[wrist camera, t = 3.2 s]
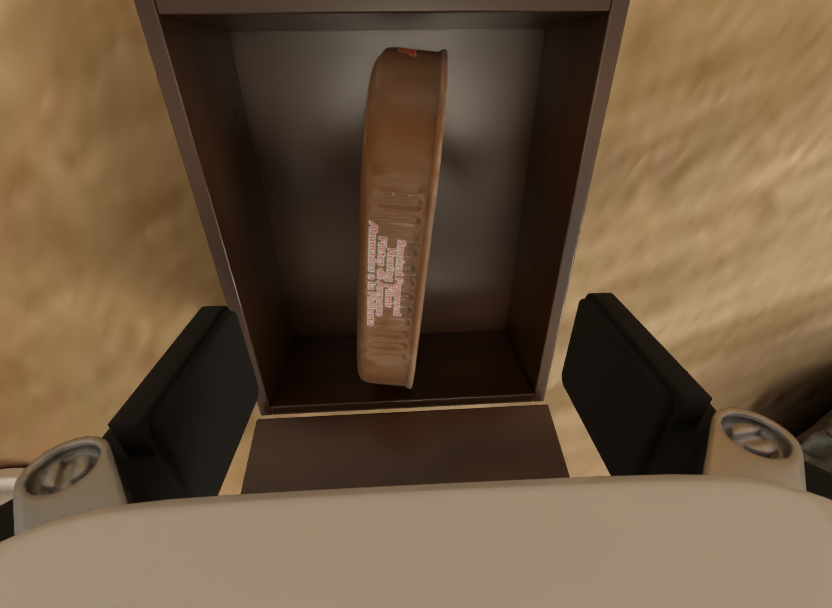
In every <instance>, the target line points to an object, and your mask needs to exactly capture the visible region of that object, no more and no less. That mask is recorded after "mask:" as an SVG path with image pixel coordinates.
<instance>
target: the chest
mask: <svg viewBox="0 0 832 608" xmlns="http://www.w3.org/2000/svg"><path fill="white" fill-rule="evenodd" d="M629 2H630V0H134V3H135V6H136V9H137V12H138V16H139V19H140V22H141V25H142V29H143V32H144V35H145V38H146V42H147V45H148V48H149V52H150V55H151V58H152V61H153V65H154V68H155V71H156V74H157V78H158V81H159V84H160V87H161V91H162V94H163V97H164V100H165V104H166V107H167V110H168V113H169V117H170V120H171V123H172V126H173V130H174V133H175V136H176V140H177V143H178V146H179V149H180V153H181V156H182V159H183V162H184V166H185V169H186V172H187V175H188V179H189V182H190V185H191V188H192V192H193V195H194V198H195V201H196V205H197V208H198V211H199V214H200V218H201V221H202V224H203V227H204V231H205V234H206V237H207V241H208V244H209V247H210V250H211V254H212V257H213V260H214V263H215V267H216V270H217V273H218V276H219V280H220V283H221V286H222V289H223V293H224V296H225V299H226V302H227V306H228V308H229V309H230V311H235V312H236V314H237V316H238V319H239V323H240V326H241V329H242V333H243V336H244V339H245V343H246V346H247V349H248V353H249V356H250V359H251V363H252V366H253V369H254V373H255V376H256V379H257V382H258V387H259V394H258V399H257V403H258V407H259V410H260V413H261V415H272V414H273V415H278V414H298V413H317V412H337V411H357V410H376V409H396V408H416V407H435V406H455V405H475V404H495V403H514V402H532V401H534V402H535V401H544V396H545V392H546V387H547V383H548V378H549V373H550V369H551V364H552V359H553V355H554V350H555V345H556V341H557V336H558V332H559V327H560V322H561V318H562V313H563V308H564V304H565V299H566V294H567V290H568V285H569V280H570V276H571V271H572V267H573V262H574V257H575V253H576V248H577V243H578V239H579V234H580V229H581V225H582V220H583V215H584V211H585V206H586V202H587V197H588V192H589V188H590V183H591V178H592V174H593V169H594V164H595V160H596V155H597V150H598V146H599V141H600V137H601V132H602V127H603V123H604V118H605V113H606V109H607V104H608V99H609V95H610V90H611V86H612V81H613V76H614V72H615V67H616V62H617V58H618V53H619V48H620V44H621V39H622V34H623V30H624V25H625V21H626V16H627V11H628V7H629ZM388 47H401V48H409V49H416V50H426V51H437V52H439V51H440V50H442V49H446V50H447V51H448V83H447V97H446V110H445V120H444V135H443V142H442V154H441V163H440V174H439V182H438V190H437V198H436V206H435V214H434V221H433V228H432V237H431V246H430V253H429V261H428V269H427V278H426V285H425V294H424V302H423V311H422V319H421V326H420V335H419V343H418V351H417V359H416V365H415V367H416V368H415V374H414V380H413V384H412V388H411V389H409V388H407V387H405V386H398V385H386V384H375V383H369V382H365V381H363V380H362V379H361V378H360V376H359V374H358V366H357V284H358V246H359V207H360V177H361V158H362V142H363V129H364V117H365V109H366V101H367V94H368V87H369V80H370V76H371V72H372V68H373V66H374V63H375V61H376V60H377V58H378V57H379V56H380V55H381V53H382V52H383V51H384V50H385V49H386V48H388Z"/></svg>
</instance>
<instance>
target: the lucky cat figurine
mask: <svg viewBox="0 0 832 608" xmlns="http://www.w3.org/2000/svg"><path fill="white" fill-rule="evenodd" d="M795 439H796V440H797V441H798V443H799V444H800V446H801V449H802V451H803V457H804V461H806V462H808V463H810V464H812V465H815V466H817V467H819V468H821V469H824V470H826V471H828V472H831V473H832V410H830V411H829V412H828V413H827V414H826V415H825V416H823V417H822V418H821V419H820V420H819V421H818V422H816V423H815V424H814V425H813V426H811V427H810V428H808V429H807V430H805V431H804V432H802V433H801V434H799V435H798V436H796V437H795Z"/></svg>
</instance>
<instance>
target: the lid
mask: <svg viewBox="0 0 832 608" xmlns="http://www.w3.org/2000/svg"><path fill="white" fill-rule="evenodd" d="M551 478H570V476H569V473H568V470H567V466H566V463H565V460H564V456H563V453H562V450H561V447H560V443H559V440H558V437H557V433H556V430H555V427H554V423H553V420H552V417H551V413H550V410H549V407H548V405H529V406H509V407H490V408H470V409H451V410H431V411H411V412H392V413H372V414H353V415H333V416H314V417H294V418H275V419H258V420H257V422H256V426H255V431H254V435H253V440H252V445H251V449H250V454H249V458H248V463H247V467H246V472H245V476H244V481H243V485H242V490H241V494H254V493H272V492H290V491H308V490H326V489H344V488H363V487H383V486H403V485H422V484H443V483H463V482H484V481H506V480H528V479H551Z"/></svg>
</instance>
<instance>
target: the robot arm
mask: <svg viewBox="0 0 832 608" xmlns="http://www.w3.org/2000/svg"><path fill="white" fill-rule="evenodd" d="M562 382H563V385H564V387H565V389H566V391H567V393H568V395H569V397H570V399H571V401H572V403H573V405H574V406H575V408H576V410H577V412H578V414H579V416H580V418H581V420H582V422H583V424H584V425H585V427H586V429H587V431H588V433H589V435H590V437H591V439H592V441H593V443H594V444H595V446H596V448H597V450H598V452H599V454H600V456H601V458H602V460H603V462H604V463H605V465H606V467H607V469H608V471H609V473H610V475H611V476H596V477H574V478H551V479H528V480H506V481H484V482H463V483H443V484H422V485H403V486H383V487H363V488H344V489H326V490H308V491H290V492H272V493H254V494H237V495H223V496H218V494H219V491H220V489H221V486H222V484H223V481H224V479H225V477H226V474H227V472H228V469H229V467H230V464H231V462H232V460H233V457H234V455H235V452H236V450H237V447H238V445H239V443H240V440H241V438H242V435H243V433H244V430H245V428H246V426H247V423H248V421H249V418H250V416H251V413H252V411H253V409H254V406H255V404H256V401H257V399H258V394H259V387H258V382H257V379H256V376H255V373H254V369H253V366H252V363H251V359H250V356H249V353H248V349H247V346H246V343H245V339H244V336H243V333H242V329H241V326H240V323H239V319H238V316H237V314H236V312H235V311H230V309H229V308H228V307H227V306H205V307H202V308H201V309H200V310H199V311H198V312H197V314H196V315H195V316H194V317H193V319H192V320H191V321H190V322H189V324H188V325H187V326H186V327H185V329H184V330H183V331H182V332H181V334H180V335H179V336H178V337H177V339H176V340H175V341H174V342H173V344H172V345H171V346H170V347H169V349H168V350H167V351H166V352H165V354H164V355H163V356H162V357H161V359H160V360H159V361H158V362H157V364H156V365H155V366H154V367H153V369H152V370H151V371H150V372H149V374H148V375H147V376H146V377H145V379H144V380H143V381H142V382H141V384H140V385H139V386H138V387H137V389H136V390H135V391H134V392H133V394H132V395H131V396H130V397H129V399H128V400H127V401H126V402H125V404H124V405H123V406H122V407H121V409H120V410H119V411H118V412H117V414H116V415H115V416H114V417H113V419H112V420H111V421H110V422H109V424H108V426H109V427H110V428H109V430H108V431H107V432H106V433H105V435H104V436H103V437H102V438H101V437H98V436H85V437H80V438H75V439H72V440H69V441H67V442H64V443H61V444H59V445H57V446H55V447H53V448H52V449H50V450H48V451H46V452H45V453H43V454H42V455H40V456H39V457H38V458H36V459H35V460H33V461H32V462H31V463H30V464H29V465H28V466H27V467H26V468H7V469H0V608H832V473H831V472H828V471H826V470H824V469H821V468H819V467H817V466H815V465H812V464H810V463H808V462H806V461H804V457H803V451H802V449H801V446H800V444H799V443H798V441H797V440H796V439H795V438H794V436H793V435H792V434H791V433H789V432H788V431H787V430H786V429H785V428H783V427H782V426H781V425H779V424H777V423H776V422H774V421H773V420H771V419H769V418H767V417H765V416H762V415H760V414H758V413H755V412H752V411H748V410H745V409H739V408H724V409H720V410H719V411H716V410H715V409H714V408H713V407H712V406H711V404H710V402H711V400H712V397H711V396H710V395H709V394H708V393H707V392H706V391H705V390H704V389H703V388H702V387H701V386H700V385H699V384H698V383H697V382H696V381H695V380H694V379H693V378H692V376H691V375H690V374H689V373H688V372H687V371H686V370H685V369H684V368H683V367H682V366H681V365H680V364H679V363H678V362H677V361H676V360H675V359H674V358H673V357H672V355H671V354H670V353H669V352H668V351H667V350H666V349H665V348H664V347H663V346H662V345H661V344H660V343H659V342H658V341H657V340H656V339H655V338H654V337H653V336H652V334H651V333H650V332H649V331H648V330H647V329H646V328H645V327H644V326H643V325H642V324H641V323H640V322H639V321H638V320H637V319H636V318H635V317H634V316H633V315H632V313H631V312H630V311H629V310H628V309H627V308H626V307H625V306H624V305H623V304H622V303H621V302H620V301H619V300H618V299H617V298H616V297H615V296H614V295H613V294H612V293H590V294H588V295H587V296H586V298H585V299H581V300H580V302H579V305H578V309H577V313H576V317H575V321H574V326H573V330H572V334H571V338H570V342H569V346H568V350H567V354H566V358H565V363H564V367H563V371H562Z"/></svg>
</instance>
